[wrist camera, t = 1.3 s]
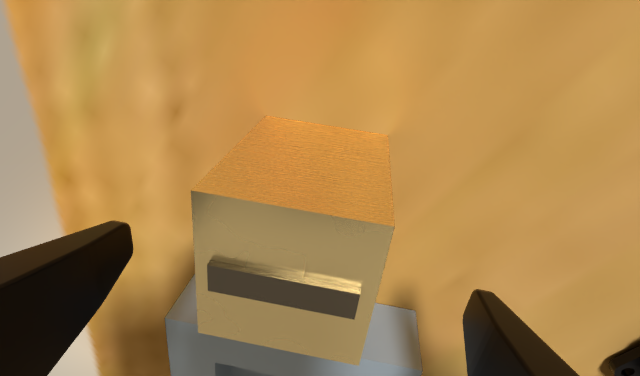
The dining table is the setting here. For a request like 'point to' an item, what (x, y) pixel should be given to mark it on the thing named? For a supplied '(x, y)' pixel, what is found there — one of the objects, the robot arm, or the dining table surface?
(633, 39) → the dining table surface
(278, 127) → the block
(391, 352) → the grey slotted plate
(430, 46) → the dining table surface
